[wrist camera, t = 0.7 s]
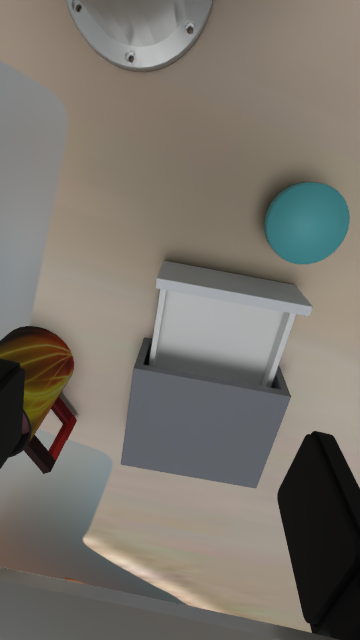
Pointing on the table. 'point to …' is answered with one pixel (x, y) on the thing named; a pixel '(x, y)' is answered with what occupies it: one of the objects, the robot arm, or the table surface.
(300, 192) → the disc
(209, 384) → the housing
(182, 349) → the grey drawer
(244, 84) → the table surface
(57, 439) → the mug
